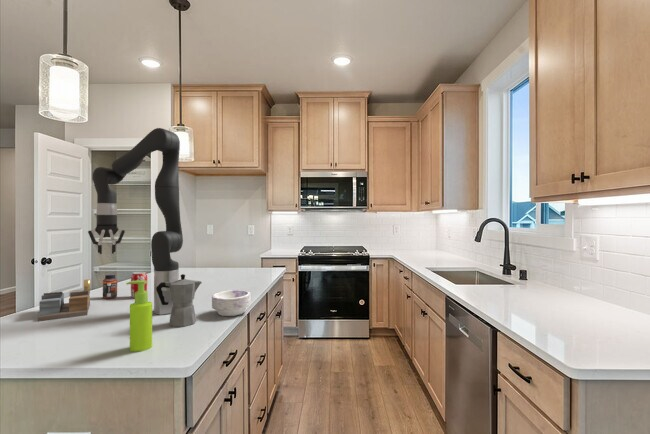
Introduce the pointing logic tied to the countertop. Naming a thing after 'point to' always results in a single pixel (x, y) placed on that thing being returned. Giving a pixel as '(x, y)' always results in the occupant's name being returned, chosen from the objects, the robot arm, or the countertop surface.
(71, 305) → the block holder
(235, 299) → the white marbled bowl
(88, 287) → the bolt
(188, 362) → the countertop surface
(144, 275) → the soda can
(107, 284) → the supplement bottle
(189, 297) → the coffeepot
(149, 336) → the soap dispenser
